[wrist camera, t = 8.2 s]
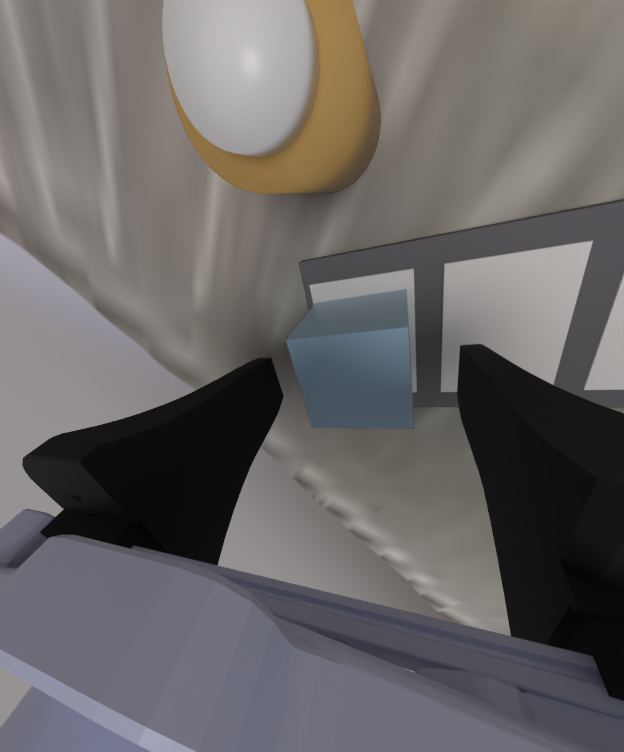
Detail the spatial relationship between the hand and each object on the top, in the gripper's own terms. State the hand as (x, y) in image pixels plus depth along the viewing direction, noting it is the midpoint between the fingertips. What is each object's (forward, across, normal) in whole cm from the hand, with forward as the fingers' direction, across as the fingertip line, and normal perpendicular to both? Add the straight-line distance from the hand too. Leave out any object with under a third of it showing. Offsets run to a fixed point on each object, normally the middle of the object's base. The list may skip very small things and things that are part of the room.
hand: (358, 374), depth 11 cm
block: (+3, 0, 0) cm, 3 cm away
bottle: (+3, 0, -8) cm, 9 cm away
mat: (+3, -6, 0) cm, 6 cm away
